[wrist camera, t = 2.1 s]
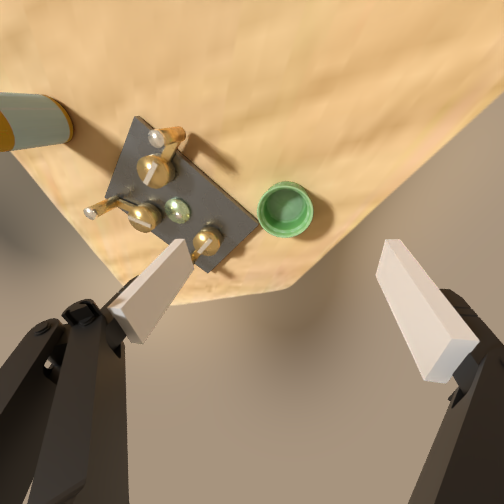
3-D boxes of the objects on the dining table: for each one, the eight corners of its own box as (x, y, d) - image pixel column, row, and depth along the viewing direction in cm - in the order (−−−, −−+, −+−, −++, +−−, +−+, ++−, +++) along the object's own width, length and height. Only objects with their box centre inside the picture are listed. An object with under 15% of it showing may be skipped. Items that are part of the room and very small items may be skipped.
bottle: (66, 150, 39) (-40, 169, 27) (30, 113, 36) (-105, 115, 24) (82, 126, 36) (-28, 135, 24) (45, 84, 33) (-101, 70, 21)
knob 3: (207, 221, 40) (193, 238, 35) (227, 237, 41) (216, 257, 36) (182, 252, 46) (166, 271, 40) (200, 265, 47) (187, 285, 42)
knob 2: (167, 189, 38) (145, 202, 33) (143, 169, 37) (116, 180, 31) (196, 140, 32) (175, 146, 27) (169, 115, 31) (141, 116, 26)
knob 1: (162, 208, 40) (141, 223, 35) (160, 229, 43) (141, 246, 38) (111, 186, 40) (81, 198, 35) (112, 209, 43) (85, 223, 38)
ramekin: (274, 233, 41) (272, 245, 37) (252, 192, 37) (246, 201, 33) (319, 215, 37) (322, 226, 33) (299, 167, 33) (299, 174, 30)
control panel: (109, 195, 43) (101, 198, 41) (139, 116, 33) (131, 116, 32) (209, 270, 49) (206, 275, 48) (259, 221, 40) (257, 226, 38)
